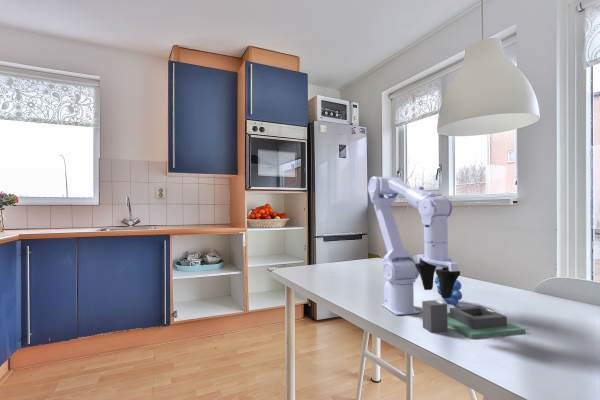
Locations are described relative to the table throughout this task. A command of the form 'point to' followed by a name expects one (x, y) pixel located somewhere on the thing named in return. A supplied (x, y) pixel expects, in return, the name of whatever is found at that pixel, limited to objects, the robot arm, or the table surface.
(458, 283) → the grapes
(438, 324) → the plug
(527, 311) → the table surface
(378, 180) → the robot arm
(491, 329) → the board
